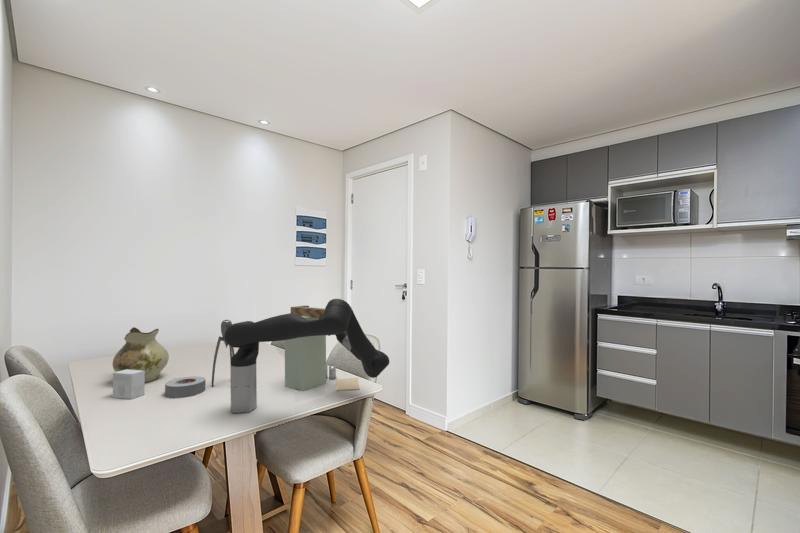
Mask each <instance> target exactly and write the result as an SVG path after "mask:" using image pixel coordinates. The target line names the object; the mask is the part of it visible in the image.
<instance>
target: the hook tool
mask: <svg viewBox="0 0 800 533" xmlns="http://www.w3.org/2000/svg"><path fill="white" fill-rule="evenodd" d="M324 311H325V308H323V307H322V308H319V307H310V305H297V306H296V305H295V306H290V313H294V314H298V315H300V316H309V317H318V318H319V317H323V314H324Z"/></svg>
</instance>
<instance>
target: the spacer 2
mask: <svg viewBox="0 0 800 533" xmlns="http://www.w3.org/2000/svg"><path fill="white" fill-rule="evenodd" d="M328 379H329V380H331V381H333V380H334V381H335V380H337V366H336V365H329V366H328Z"/></svg>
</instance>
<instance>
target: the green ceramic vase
mask: <svg viewBox="0 0 800 533" xmlns="http://www.w3.org/2000/svg"><path fill="white" fill-rule="evenodd" d="M159 331H160V329H159V328H156V329H153V330H152V331H149V332H142V331H141V330H140V329H139V328H137V327H131V328H130V329H129V332H128V333H127V334H125V336H124V340H125V344H124V345H123V346H122V347H121V348H120V349H119V350H118V351H117V352H116V353H115V354H114V357H113V359H112V369H113V370H114V372H117V371H122V370H126V369H129V370H141V371H145V383H149V382H153V381H154V380H156V379H157V378H158V375H159V374H160V373H161V372H162V371H163V370H164V369H165V368H166V366H167V365H168V362H169V357H170V356H169V352H168V350H167V349H166V348H165V347H164V346H163V345H162V344H161V343H160V342H158V341H157V339H156V336H157V335H158V333H159Z"/></svg>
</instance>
